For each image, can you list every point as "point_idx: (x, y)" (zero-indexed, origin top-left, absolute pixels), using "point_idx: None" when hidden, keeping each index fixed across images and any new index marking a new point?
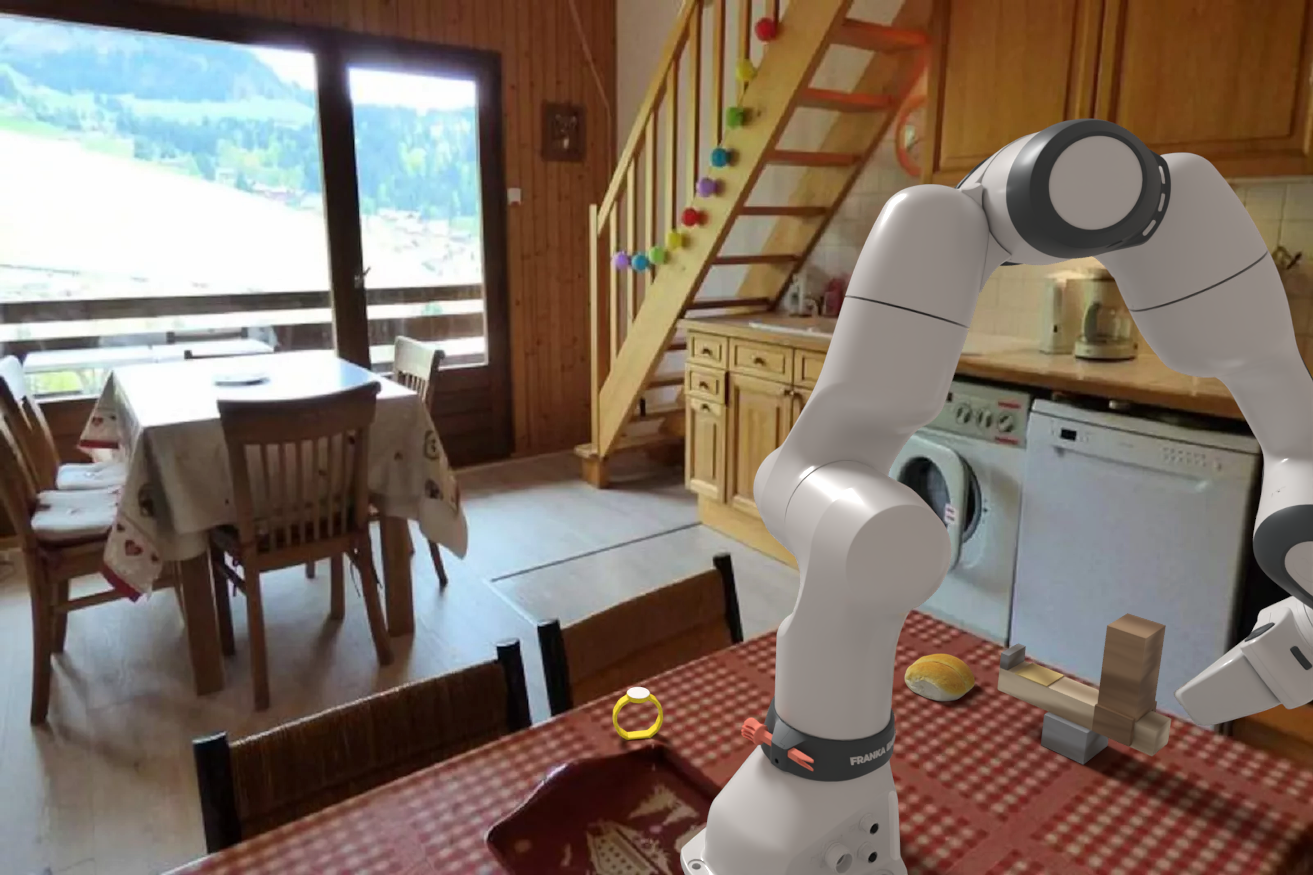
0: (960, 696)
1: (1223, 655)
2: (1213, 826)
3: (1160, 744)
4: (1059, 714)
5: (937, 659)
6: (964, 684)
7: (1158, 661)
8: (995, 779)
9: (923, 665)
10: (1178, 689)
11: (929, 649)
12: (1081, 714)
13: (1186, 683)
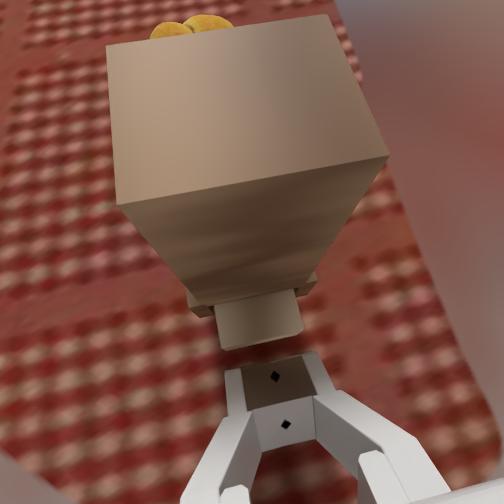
0: None
1: (487, 498)
2: None
3: (260, 342)
4: None
5: (196, 24)
6: None
7: (315, 243)
8: (62, 235)
9: (161, 27)
10: (226, 386)
11: (260, 9)
12: None
13: (297, 368)
